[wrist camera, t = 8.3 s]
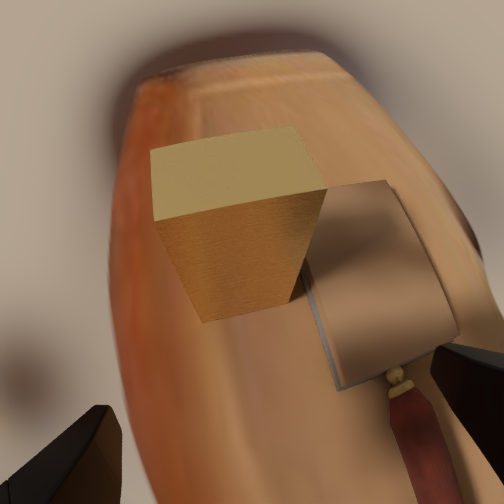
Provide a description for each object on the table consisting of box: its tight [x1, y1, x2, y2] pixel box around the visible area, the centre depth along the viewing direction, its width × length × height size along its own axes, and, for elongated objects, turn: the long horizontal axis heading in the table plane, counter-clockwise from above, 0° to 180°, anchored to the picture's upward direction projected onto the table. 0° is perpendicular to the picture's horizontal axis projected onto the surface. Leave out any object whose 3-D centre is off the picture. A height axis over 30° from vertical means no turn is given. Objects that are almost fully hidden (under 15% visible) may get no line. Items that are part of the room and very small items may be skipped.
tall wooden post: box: [150, 126, 328, 323], centre depth 13 cm, size 3×5×10 cm, turn 104°
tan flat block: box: [300, 180, 460, 391], centre depth 18 cm, size 12×8×2 cm
